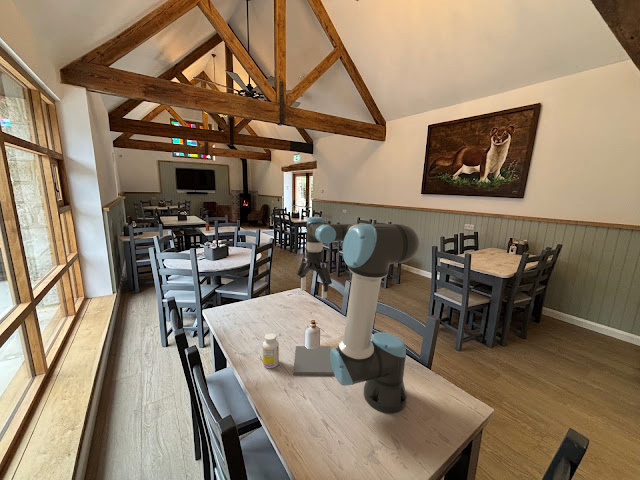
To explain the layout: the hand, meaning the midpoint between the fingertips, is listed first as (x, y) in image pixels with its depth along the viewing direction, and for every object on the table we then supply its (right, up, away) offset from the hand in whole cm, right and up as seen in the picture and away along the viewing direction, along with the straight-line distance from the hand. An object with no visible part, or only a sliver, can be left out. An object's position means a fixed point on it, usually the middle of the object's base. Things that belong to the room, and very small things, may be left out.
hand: (313, 293), depth 127 cm
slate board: (0, -27, -11) cm, 29 cm away
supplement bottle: (-18, -27, -14) cm, 35 cm away
